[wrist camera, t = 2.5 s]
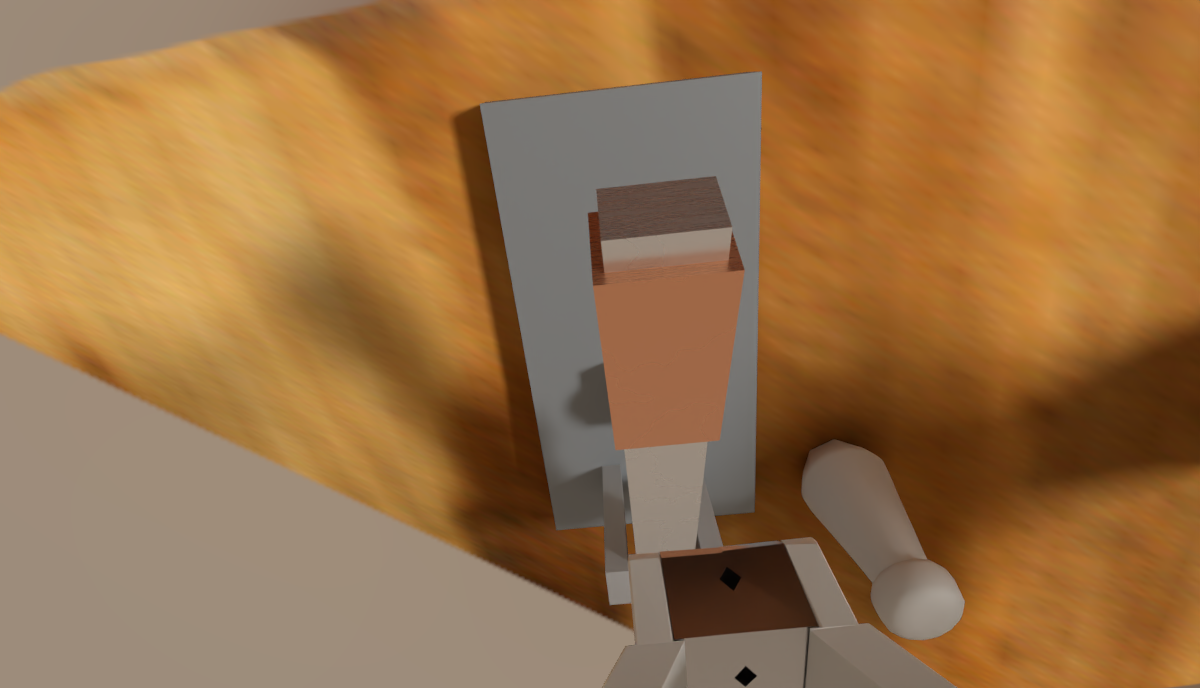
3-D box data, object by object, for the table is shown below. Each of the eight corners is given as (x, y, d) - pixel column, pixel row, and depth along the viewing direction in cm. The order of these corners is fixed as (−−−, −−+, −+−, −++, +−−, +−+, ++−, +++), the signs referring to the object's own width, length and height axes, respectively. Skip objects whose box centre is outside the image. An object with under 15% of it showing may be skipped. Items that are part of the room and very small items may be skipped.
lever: (688, 528, 34) (698, 588, 32) (629, 533, 35) (635, 593, 32) (720, 152, 15) (750, 239, 13) (582, 167, 15) (588, 257, 13)
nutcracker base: (747, 493, 42) (796, 624, 32) (557, 510, 42) (547, 645, 32) (751, 71, 30) (832, 70, 20) (486, 102, 30) (434, 116, 20)
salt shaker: (868, 491, 42) (977, 655, 30) (790, 499, 42) (867, 664, 30) (876, 425, 39) (998, 574, 28) (792, 433, 40) (878, 585, 28)
